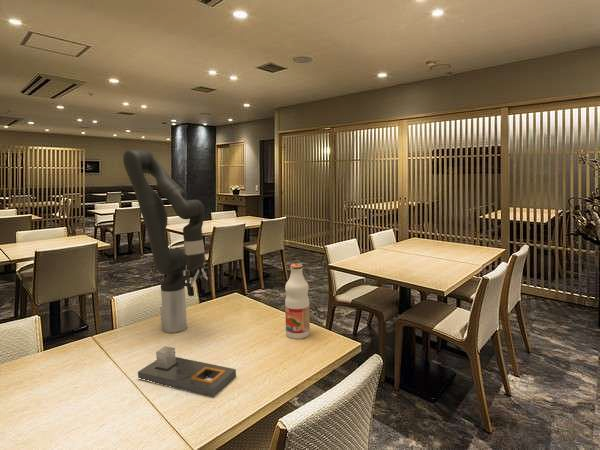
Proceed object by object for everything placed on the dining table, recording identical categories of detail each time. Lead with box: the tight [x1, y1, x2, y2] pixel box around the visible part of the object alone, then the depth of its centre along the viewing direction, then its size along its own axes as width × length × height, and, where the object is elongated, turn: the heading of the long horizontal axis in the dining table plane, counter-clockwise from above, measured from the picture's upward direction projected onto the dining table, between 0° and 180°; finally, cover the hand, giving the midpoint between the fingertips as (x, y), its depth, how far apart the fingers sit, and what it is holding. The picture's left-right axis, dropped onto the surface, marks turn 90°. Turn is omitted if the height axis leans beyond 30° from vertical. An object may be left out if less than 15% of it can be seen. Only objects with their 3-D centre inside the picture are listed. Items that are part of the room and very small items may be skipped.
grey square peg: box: [155, 346, 176, 371], centre depth 122 cm, size 4×4×8 cm
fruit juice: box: [284, 263, 311, 340], centre depth 149 cm, size 9×9×28 cm
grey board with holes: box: [137, 356, 237, 398], centre depth 120 cm, size 28×12×3 cm, turn 68°
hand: (198, 292), depth 149 cm, fingers open, 8 cm apart
